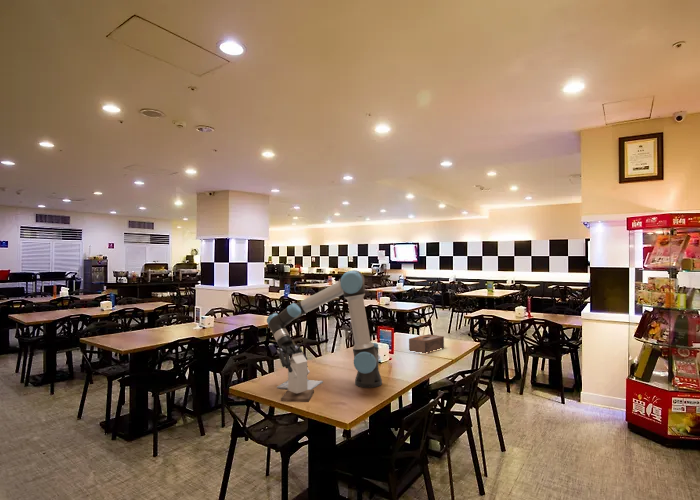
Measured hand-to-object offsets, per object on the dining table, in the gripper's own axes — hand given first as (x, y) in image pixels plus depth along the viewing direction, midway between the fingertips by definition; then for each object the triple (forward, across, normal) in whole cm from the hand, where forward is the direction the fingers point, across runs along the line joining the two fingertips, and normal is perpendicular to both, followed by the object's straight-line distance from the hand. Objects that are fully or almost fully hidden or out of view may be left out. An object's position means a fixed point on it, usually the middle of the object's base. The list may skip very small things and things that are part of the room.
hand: (301, 375), depth 201 cm
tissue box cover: (-4, -135, -21) cm, 136 cm away
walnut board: (+6, 0, -11) cm, 12 cm away
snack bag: (-4, -13, -22) cm, 25 cm away
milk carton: (+4, 0, -9) cm, 9 cm away
